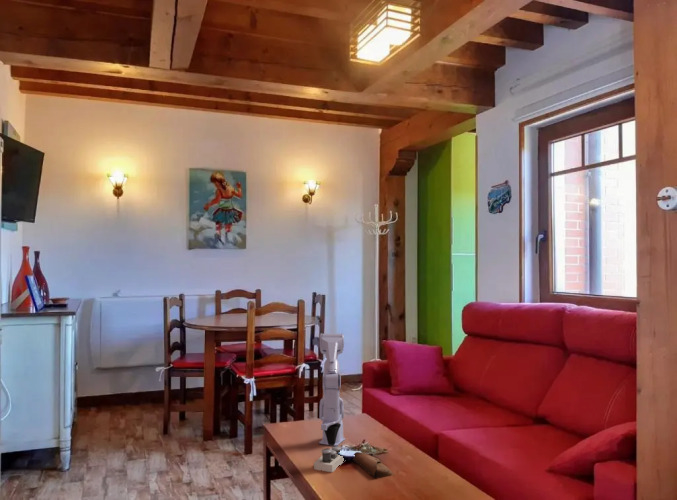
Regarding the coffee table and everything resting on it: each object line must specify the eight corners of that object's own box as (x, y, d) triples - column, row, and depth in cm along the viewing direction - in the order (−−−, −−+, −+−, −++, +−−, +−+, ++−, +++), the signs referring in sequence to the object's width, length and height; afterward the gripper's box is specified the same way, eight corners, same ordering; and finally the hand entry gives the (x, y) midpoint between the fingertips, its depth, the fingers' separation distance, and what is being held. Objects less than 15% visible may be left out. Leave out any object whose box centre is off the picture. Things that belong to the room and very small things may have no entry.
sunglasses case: (396, 474, 187) (387, 459, 186) (381, 488, 184) (372, 472, 183) (372, 457, 203) (364, 443, 202) (357, 469, 201) (349, 455, 199)
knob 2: (333, 455, 204) (333, 445, 204) (342, 456, 202) (342, 447, 202) (329, 458, 200) (329, 449, 201) (338, 460, 199) (338, 450, 199)
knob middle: (328, 459, 200) (328, 449, 200) (338, 461, 198) (338, 451, 198) (325, 463, 196) (325, 453, 196) (334, 464, 195) (334, 454, 195)
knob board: (330, 455, 206) (330, 448, 206) (348, 457, 203) (348, 451, 203) (314, 469, 192) (314, 462, 192) (332, 472, 189) (332, 465, 189)
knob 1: (324, 458, 196) (324, 448, 196) (333, 459, 194) (333, 449, 194) (319, 461, 192) (319, 451, 192) (329, 463, 191) (329, 453, 191)
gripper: (329, 400, 206) (329, 436, 206) (313, 410, 192) (313, 449, 192) (346, 402, 203) (346, 439, 203) (331, 413, 190) (331, 452, 190)
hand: (331, 444), depth 197 cm, fingers closed
